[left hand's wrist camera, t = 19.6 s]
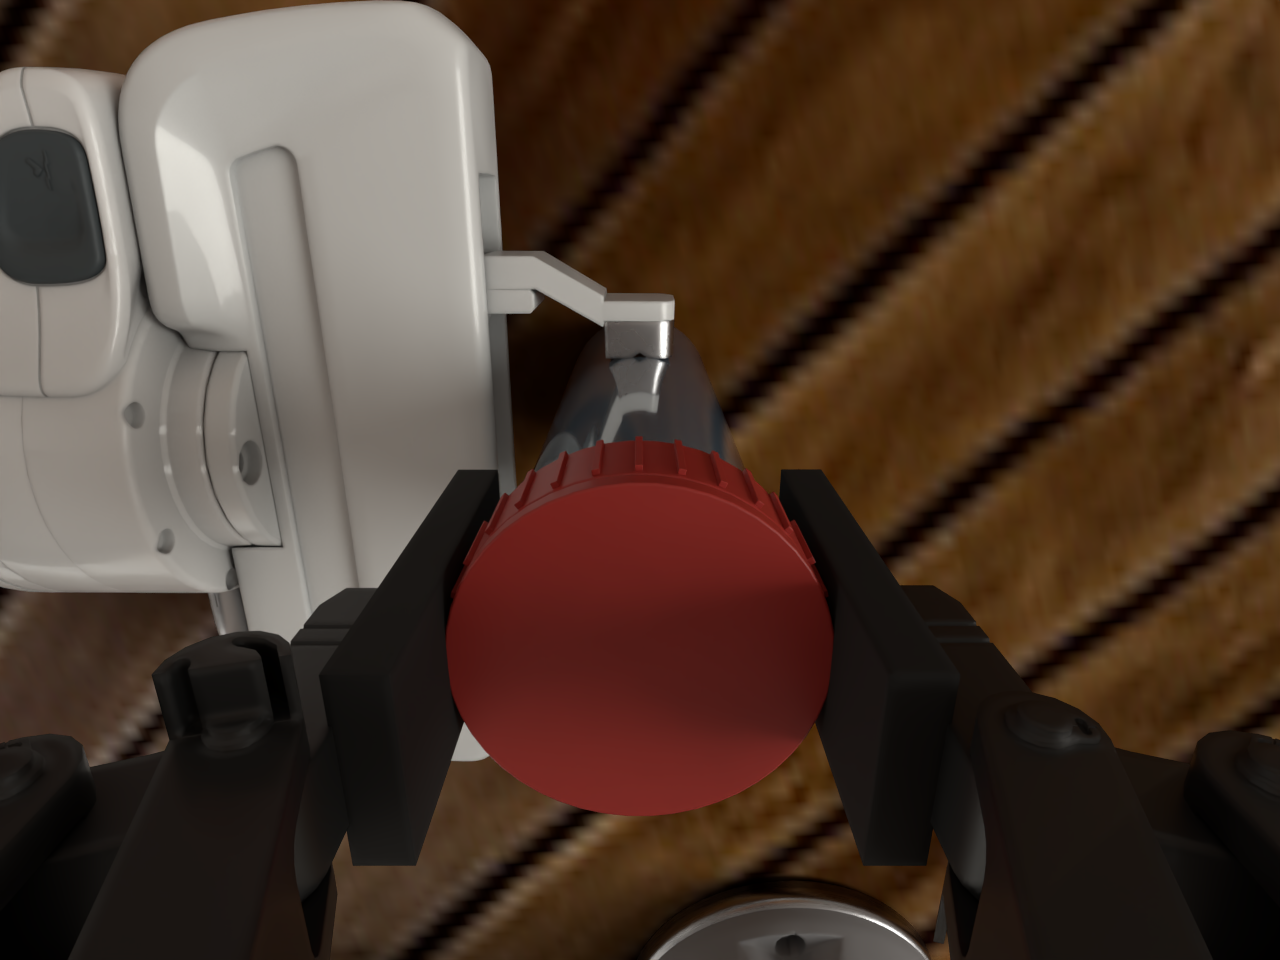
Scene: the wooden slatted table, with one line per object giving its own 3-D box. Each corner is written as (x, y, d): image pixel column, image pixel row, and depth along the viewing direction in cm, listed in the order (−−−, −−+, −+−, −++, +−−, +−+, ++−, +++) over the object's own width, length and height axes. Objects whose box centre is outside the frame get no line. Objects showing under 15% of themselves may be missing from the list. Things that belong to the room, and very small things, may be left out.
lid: (411, 497, 11) (370, 549, 10) (761, 386, 11) (786, 421, 9) (540, 770, 13) (524, 857, 12) (845, 689, 13) (879, 767, 11)
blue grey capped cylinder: (723, 422, 27) (835, 713, 12) (602, 464, 27) (554, 796, 12) (679, 297, 25) (743, 441, 10) (552, 345, 26) (425, 552, 11)
